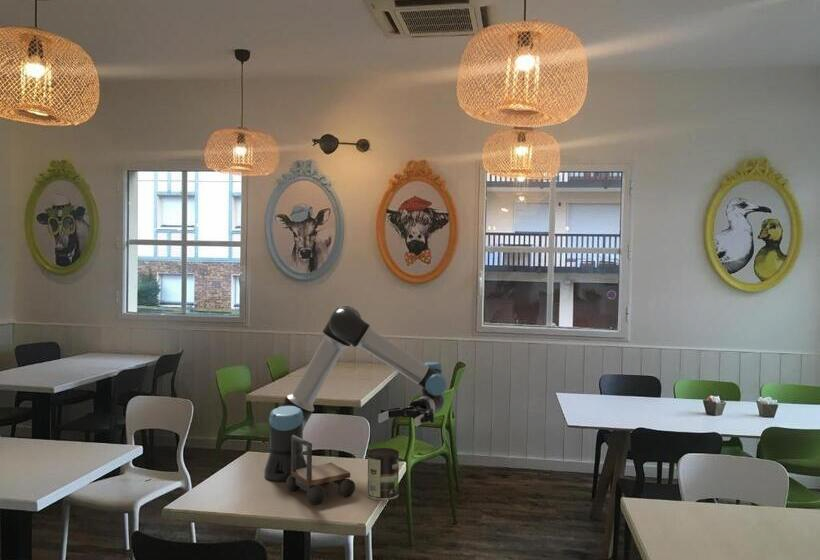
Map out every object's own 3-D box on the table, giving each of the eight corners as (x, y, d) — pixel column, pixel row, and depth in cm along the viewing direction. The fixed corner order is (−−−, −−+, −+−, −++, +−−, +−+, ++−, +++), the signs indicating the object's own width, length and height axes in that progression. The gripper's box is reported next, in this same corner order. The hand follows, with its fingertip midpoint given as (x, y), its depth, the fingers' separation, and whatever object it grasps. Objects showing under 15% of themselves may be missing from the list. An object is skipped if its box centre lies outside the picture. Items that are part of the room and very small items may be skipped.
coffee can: (401, 491, 212) (402, 448, 211) (394, 501, 201) (395, 457, 201) (371, 488, 214) (372, 446, 213) (363, 499, 203) (363, 455, 203)
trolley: (309, 506, 197) (309, 445, 197) (286, 491, 210) (286, 434, 210) (355, 495, 207) (355, 437, 207) (330, 481, 220) (330, 427, 220)
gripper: (453, 421, 230) (431, 435, 211) (391, 415, 241) (364, 428, 221) (453, 400, 230) (431, 412, 211) (391, 395, 241) (364, 406, 221)
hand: (397, 420), depth 216 cm, fingers open, 13 cm apart
